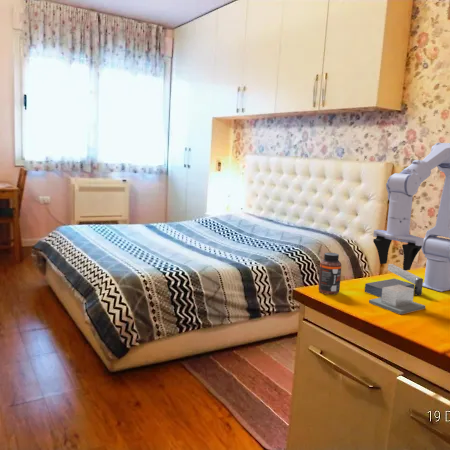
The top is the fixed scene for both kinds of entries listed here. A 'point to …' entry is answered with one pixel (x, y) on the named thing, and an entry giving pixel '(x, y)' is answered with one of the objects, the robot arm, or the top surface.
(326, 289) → the supplement bottle
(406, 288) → the grey rectangular block
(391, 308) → the rubber mat
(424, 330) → the top surface
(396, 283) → the grey piece
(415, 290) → the steel lever
